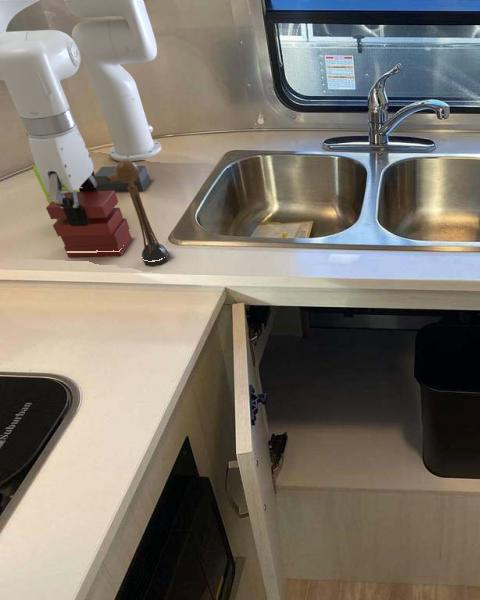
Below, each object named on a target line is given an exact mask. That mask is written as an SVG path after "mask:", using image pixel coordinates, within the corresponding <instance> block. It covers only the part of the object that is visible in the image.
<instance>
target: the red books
mask: <svg viewBox="0 0 480 600" xmlns="http://www.w3.org/2000/svg"><path fill="white" fill-rule="evenodd" d="M87 220H88V222H89V224H88V225H87V226H71V225H70V223H69V221H68V219H58V220H55V222H54V223H53V224H52V226H53V229H54V232H55V233H56V235H57V237H60V238H61V240H62V243H63V244H64V246H63V248H64V250H65V252H66V251H96V250H98V251H113V250H114V251H119V250H120V249H121V248H122V249H121V250H120V252H97V253H66V255H67V257H68V258H102V257H103V258H105V257H122V255H123V254H124V252H125V251H126V249H127V248H128V247H129V245H130V243H131V242H132V239H133V237H132V234H131V232H130V229H131V228H130V225H129V223H128V220H127V218H125V217H124V216H123V213H122V210H121V208H120V207H114V208H113V209H112V211H111V212H110V213H109V215H108V216H107V217H106V218H87ZM123 245H124V246H123Z"/></svg>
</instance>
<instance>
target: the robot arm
mask: <svg viewBox="0 0 480 600" xmlns="http://www.w3.org/2000/svg"><path fill="white" fill-rule="evenodd" d="M37 2H40V0H0V81H3V82H4V84H5V86H6V88H7V91H8V93H9V95H10V97H11V100H12V102H13V105H14V106H15V109H16V111H17V113H18V116H19V118H20V120H21V122H22V124H23V128H24V129H25V131H26V133H27V134H28V136H27V137H28V144H29V149H30V153H31V155H32V159H33V162H34V164H35V165H36V168H37V170H38V173H39V176H40V178H41V181H42V183H43V186H44V188H45V190H46V191H47V192H48V193H49V199H50V201H52V202H54V203H56V204H57V205H59V206H60V208H63V210H64V212H65V214H66V217H67V219H68V221H69V223H70V225H71V226H87V225H88V224H89V222H88V220H87V217H86V215H85V212H84V210H83V207H82V205H79V204H78V198H77V193H76V190H77V189H78V191H79V192H82V191H98V189H97V187H96V186H97V182H96V180H95V179H94V175H95V174H96V173H95V171H94V169H95V167H94V166H95V161H94V159H93V158H91V155H90V152H89V150H88V148H87V145H86V143H85V141H84V139H83V137H82V135H81V132H80V131H79V129H78V126H77V125H78V124H77V123H76V120H75V117H74V115H73V112H72V109H71V107H70V104H69V102H68V99H67V96H66V94H65V92H64V88H63V86H62V83H61V81H63V80H66V79H68V78H71V77H73V76H74V75H75V74H76V73H77V72H78V70H79V67H80V65H81V62H82V63H83V65H84V68H85V70H86V72H87V74H88V76H89V80H90V82H91V84H92V88H93V90H94V93H95V97H96V99H97V102H98V105H99V108H100V111H101V113H102V116H103V119H104V122H105V125H106V128H107V130H108V133H109V137H110V139H111V142H112V145H113V146H112V147H111V149H110V150H109V153H108V154H109V156H110V158H111V159H112V160H114V161H118V162H121V161H123V160H129V161H132V162H138V161H143V160H147V159H150V158H152V157H154V156H156V155H158V154H159V153H160V152H161V150H162V145H161V143H160V142H159V141H157V140H155V139H153V136H152V132H153V131H154V128H153V126H152V125H150V124H149V123H148V119H147V117H146V113H145V110H144V106H143V102H142V99H141V97H140V93H139V90H138V86H137V83H136V81H135V78H133V76H132V75H131V74H130V73H129V71H127V70H126V69H125V68H124V67H123V66H122V65H127V64H140V63H148V62H152V61H153V60H155V59H156V57H157V54H158V46H157V42H156V41H157V40H156V38H155V34H154V31H153V26H152V23H151V21H150V18H149V14H148V10H147V8H146V4H145V2H144V0H63V2H64V4H65V6H66V8H67V9H68V11H69V12H70V13H71V14H73V15H74V16H77V17H81V18H103V17H122V18H106V19H90V20H85V21H81V22H79V23H76V25H75V26H74V27H73V28H72V30H71V36H70V35H69V34H68V33H66V32H64V31H61V30H57V29H39V30H16V31H7V29H8V26H9V24H10V22H11V21H12V19H13V18H14V17H15V16H16V15H17V14H18V13H19V12H22V11H23V10H25V9H26V8H28V7H31V6H32V5H34V4H35V3H37ZM35 165H34V166H35ZM62 187H67V188H68V190H63V189H62ZM68 193H70V196H71V200H70V199H68V198H65V196H64V194H68Z"/></svg>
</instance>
